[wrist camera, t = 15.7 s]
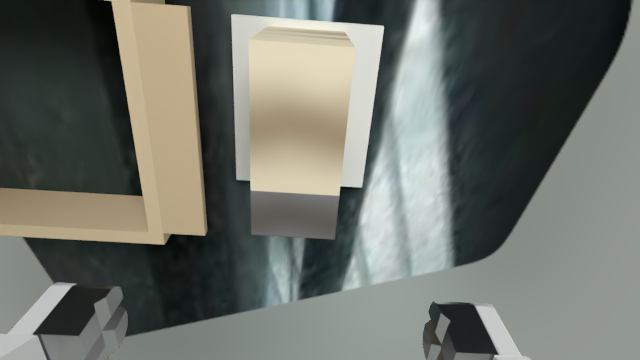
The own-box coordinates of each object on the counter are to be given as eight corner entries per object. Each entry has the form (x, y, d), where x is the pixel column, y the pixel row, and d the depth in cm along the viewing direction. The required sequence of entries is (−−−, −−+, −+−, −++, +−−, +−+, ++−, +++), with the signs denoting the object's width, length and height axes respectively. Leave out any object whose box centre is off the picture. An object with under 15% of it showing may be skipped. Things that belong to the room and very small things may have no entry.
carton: (-162, -43, 23) (-275, -51, 19) (209, -13, 24) (185, -14, 20) (-58, 194, 31) (-121, 228, 26) (221, 211, 32) (205, 247, 27)
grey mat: (233, 14, 25) (231, 15, 24) (382, 25, 25) (384, 26, 25) (238, 175, 30) (236, 179, 30) (360, 183, 31) (361, 187, 30)
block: (268, 25, 24) (248, 39, 17) (344, 31, 25) (355, 47, 18) (267, 175, 29) (251, 234, 22) (330, 179, 30) (334, 239, 22)
